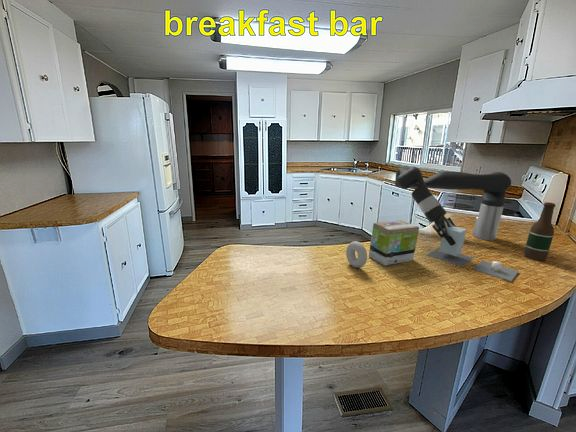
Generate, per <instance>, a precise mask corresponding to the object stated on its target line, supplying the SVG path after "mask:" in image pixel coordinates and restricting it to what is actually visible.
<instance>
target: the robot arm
mask: <svg viewBox="0 0 576 432" xmlns="http://www.w3.org/2000/svg"><path fill="white" fill-rule="evenodd" d="M394 181H395V182H394V186H395V187H397V188H401V189H402V190H407V189H414V190H413V191H412V192H411V197H412V199H414V201H415V202H416V204H417V205H418V207H419V209H420V211H421V212H422V214H423V215H424V216H425V217H426V219H427V221H428V222H429V223H434V224H432V228H433V230H435V232H436V233H437V235H439V237H440V238H441V239H442V237H443V238H445V239H446V240H447V242H448V243H449V244H450V246H452V245H454V244H456V242H455V241H454V240H453V238H452V237H451V235H450V234H449V232H448V231H447V230H448V227H450V226H451V227H457V226H456V224H455V223H454V222H453V220H452V218H451V217H448V218H447V217H446V215H447V211H446V209H445V208H444V207H443V205H442V204H441V203H440V201H439V200H438V199H437V198H436V197H435V196H434V195H433V193H432V192H431V191H430V189H436V190H437V189H438V190H479V191H482V195H481V201H480V202H481V203H480V207H479V212H478V216H476V217H475V222H474V225H473V231H472V235H473V236H474V237H475V238H477V239H481V240H485V241H495V240H496V239H497V235H498V231H499V226H500V222H501V218H502V215H503V211H504V207H505V202H506V201H505V198H506V192H507V190H509V188H510V187H511V185H512V179H511V177H510V176H509V175H508V174H506V173H504V172H501V171H494V172H491V173H486V174H475V173H468V172H464V171H463V172H462V171H451V170H450V171H449V170H448V171H447V170H446V171H445V170H443V171H442V170H441V171H439V172H437V173H434V174H432V175H431V176H429V177H427V178H425V179H424V177H423V174H422V172H421V170H420V168H418V167H417V166H412V167H409V166H408V167H407V166H406V167H404V166H403V167H398V168H397V169H396V172H395V180H394ZM443 228H445V229H443ZM445 231H446V232H445Z"/></svg>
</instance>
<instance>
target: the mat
mask: <svg viewBox="0 0 576 432" xmlns="http://www.w3.org/2000/svg"><path fill="white" fill-rule="evenodd" d="M439 249H440V247H438V248H436V249H434V250H432V251H431V252H428V253H426V254H425V257H430V258H433V259H436V260H440V261H442V262H445V263H448V264H452V265H456V266H459V267H461V268H463V267H464V266H466V265H467V264H468V263H470V262H471V261H472V260H474V257H473V256H469V255H465V254H462V253H460V254H458V255H457V256H454V255H450V254H447V253H444V252H440V251H439Z"/></svg>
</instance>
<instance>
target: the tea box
mask: <svg viewBox="0 0 576 432" xmlns="http://www.w3.org/2000/svg"><path fill="white" fill-rule="evenodd" d="M419 232H420V227H419V226H418V225H415V224H413V223H409V222H407V221H404V220H401V219H400V220H399V219H398V220H390V221H382V222H381V221H380V222H373V225H372V231H371V238H370V244H369V245H370V246H369V250H368V257H369V258H371V259H372V260H374V261H376V262H378V263H379V264H381V265H382V266H385V267H386V266H390V265H395V264H400V263H405V262H409V261H413V260H414V257H415V253H416V246H417V241H418V236H419Z"/></svg>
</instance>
